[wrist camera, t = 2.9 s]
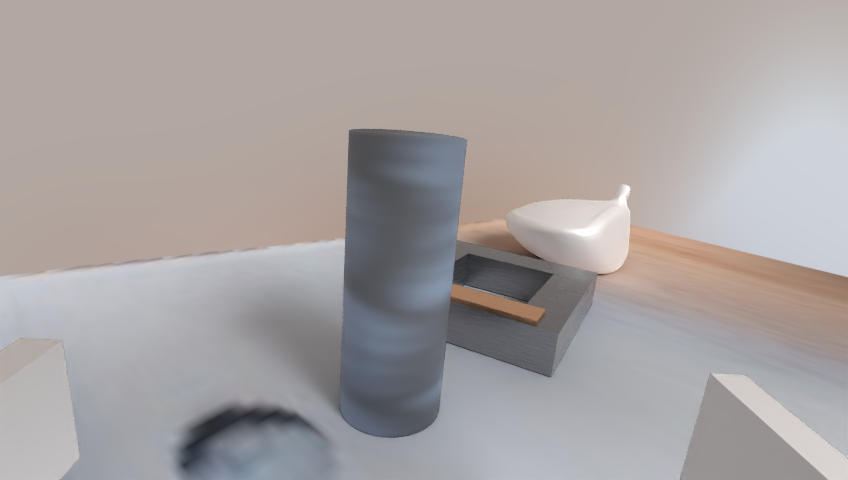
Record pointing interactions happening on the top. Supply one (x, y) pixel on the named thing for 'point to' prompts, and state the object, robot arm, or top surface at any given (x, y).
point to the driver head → (576, 231)
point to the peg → (398, 276)
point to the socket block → (516, 306)
